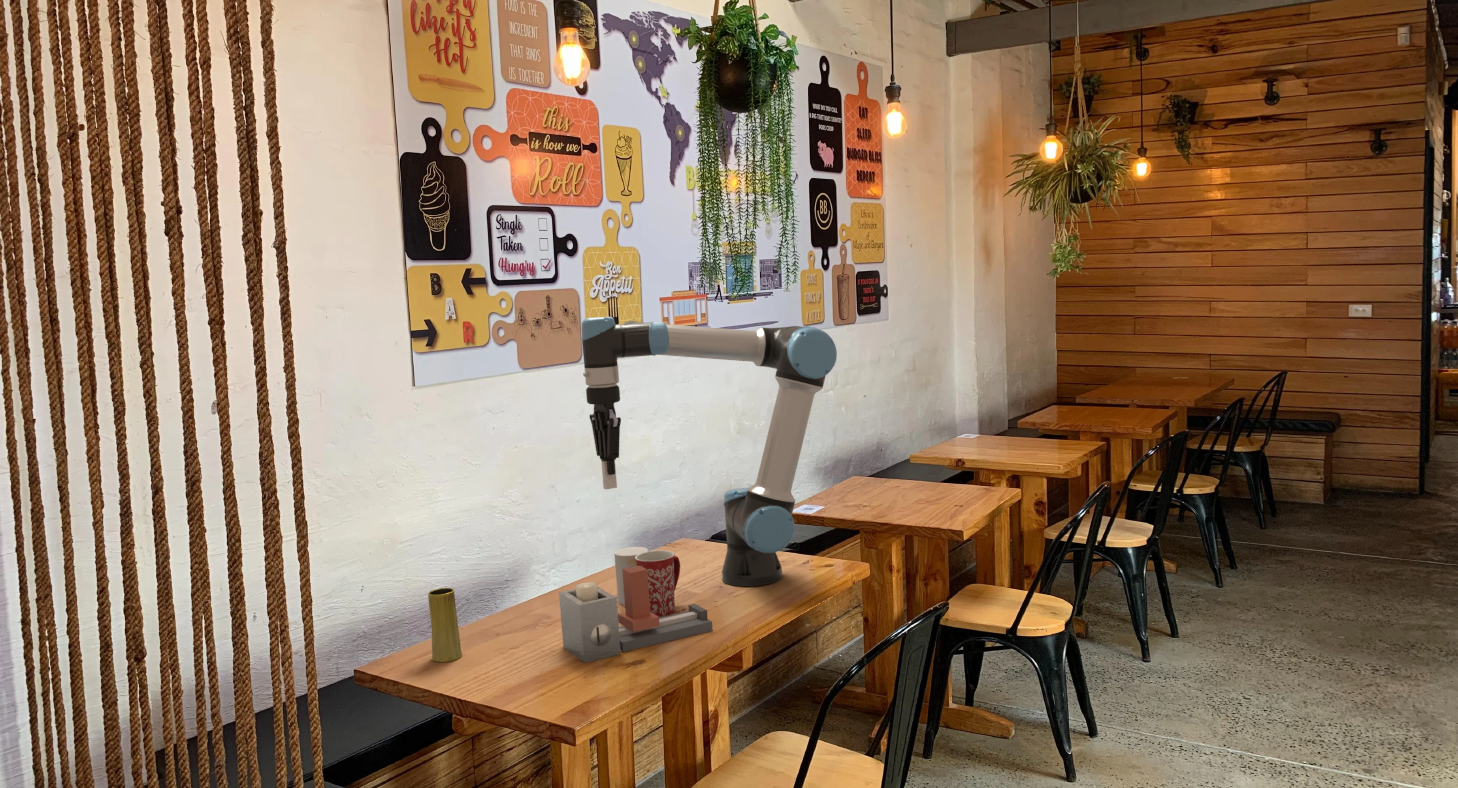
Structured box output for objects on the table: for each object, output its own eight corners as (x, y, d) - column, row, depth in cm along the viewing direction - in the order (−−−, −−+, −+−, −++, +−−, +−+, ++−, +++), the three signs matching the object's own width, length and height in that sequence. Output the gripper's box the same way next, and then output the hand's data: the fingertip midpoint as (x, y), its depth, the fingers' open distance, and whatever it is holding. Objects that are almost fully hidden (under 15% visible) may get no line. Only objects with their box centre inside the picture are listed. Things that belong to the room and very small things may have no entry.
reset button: (594, 604, 225) (592, 581, 224) (602, 609, 221) (600, 585, 220) (574, 608, 222) (572, 585, 222) (582, 613, 219) (580, 589, 218)
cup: (631, 607, 251) (627, 557, 250) (611, 601, 257) (607, 552, 256) (658, 599, 256) (655, 550, 255) (638, 592, 262) (634, 545, 261)
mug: (661, 620, 239) (656, 562, 238) (631, 615, 245) (626, 557, 244) (696, 605, 249) (692, 548, 248) (667, 600, 255) (663, 544, 253)
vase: (437, 653, 227) (431, 587, 226) (465, 651, 227) (459, 586, 225) (428, 663, 221) (422, 596, 220) (457, 661, 221) (451, 594, 219)
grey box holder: (598, 638, 230) (594, 584, 228) (622, 655, 219) (617, 598, 217) (563, 647, 226) (558, 591, 225) (585, 663, 215) (580, 606, 214)
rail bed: (691, 618, 239) (690, 601, 239) (712, 630, 231) (711, 612, 230) (604, 639, 229) (603, 621, 229) (623, 651, 221) (621, 633, 220)
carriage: (643, 616, 232) (639, 562, 231) (659, 625, 225) (655, 570, 224) (618, 622, 230) (614, 568, 228) (633, 631, 223) (629, 575, 221)
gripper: (576, 385, 245) (584, 486, 248) (597, 388, 234) (606, 494, 237) (606, 382, 249) (614, 481, 252) (629, 385, 238) (636, 489, 240)
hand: (610, 487), depth 244 cm, fingers closed
